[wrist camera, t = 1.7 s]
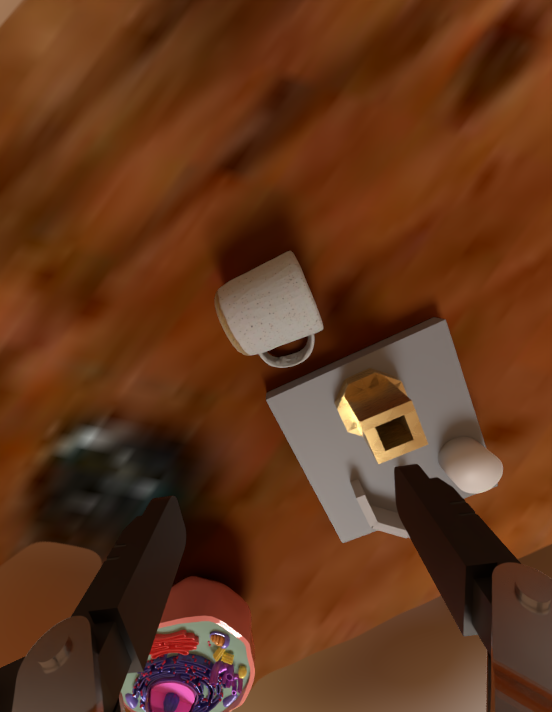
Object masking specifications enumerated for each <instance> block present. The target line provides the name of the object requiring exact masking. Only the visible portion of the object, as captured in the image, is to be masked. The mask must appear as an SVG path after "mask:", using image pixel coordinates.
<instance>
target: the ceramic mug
mask: <svg viewBox="0 0 552 712" xmlns="http://www.w3.org/2000/svg"><path fill="white" fill-rule="evenodd" d="M215 308H216V312H217V315H218V318H219V321H220V323H221V325H222V328H223V330H224V332H225V333H226V335H227V337H228V338H229V340H230V342H231V343H232V345H233V346H234V347H235V348H236V349H237V350H238V351H239V352H240V353H242V354H244V355H249V356H250V355H255V354H259V355H260V357H261V358H262V359H263V360H264V361H265V362H266V363H268V364H269V365H271V366H274V367H279V368H285V367H291V366H294V365H297V364H300V363H301V362H303V361H305V360H306V359H307V358H308V357H309V355H310V354H311V352H312V350H313V347H314V333H317V332H319V331H321V330H323V323H322V320H321V317H320V314H319V311H318V309H317V306H316V303H315V301H314V298H313V296H312V293H311V291H310V288H309V286H308V284H307V282H306V279H305V277H304V274H303V271H302V269H301V267H300V265H299V263H298V261H297V259H296V257H295V255H294V254H293V252H292V251H287V252H285V253H284V254H282V255H280V256H278V257H276V258H274V259H272V260H270V261H268V262H266V263H264V264H262V265H260V266H258V267H256V268H254V269H252V270H251V271H249V272H247V273H245V274H243V275H241V276H238V277H236V278H234V279H232V280H230V281H229V282H227V283H226V284H225V285H223V286H222V287H220V288H219V290H218V291H217V292H216V295H215ZM306 336H308V341H307V344H306V346H305V347H304V348H303V349H301V350H300V351H299V352H296V353H293V354H290V355H287V356H281V357H279V358H278V357H274V356H271V355H269V354H268V353H267V351H269V350H272V349H274V348H276V347H278V346H281V345H284V344H286V343H289V342H292V341H295V340H298V339H300V338H303V337H306Z"/></svg>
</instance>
